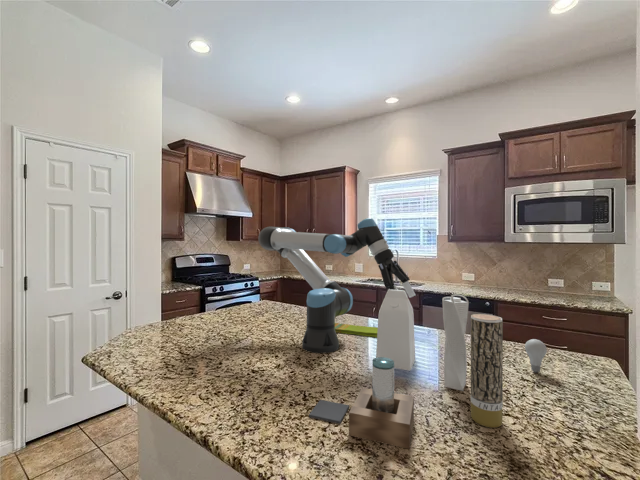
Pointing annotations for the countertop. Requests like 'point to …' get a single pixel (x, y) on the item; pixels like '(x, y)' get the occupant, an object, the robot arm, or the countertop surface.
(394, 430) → the housing
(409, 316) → the milk
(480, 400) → the bark-print cylinder
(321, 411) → the mat
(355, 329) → the dish towel
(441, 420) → the countertop surface
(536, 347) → the lightbulb
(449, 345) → the skyscraper
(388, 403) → the teal-capped metal cylinder
